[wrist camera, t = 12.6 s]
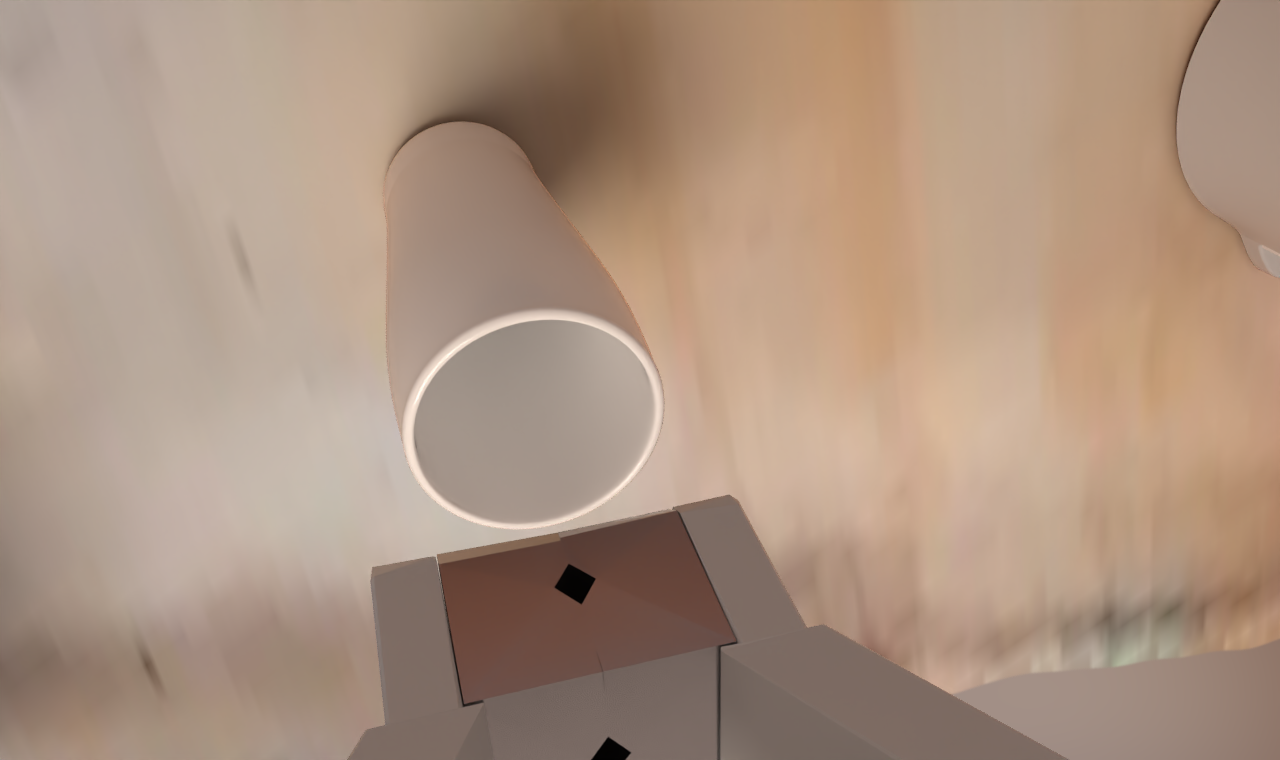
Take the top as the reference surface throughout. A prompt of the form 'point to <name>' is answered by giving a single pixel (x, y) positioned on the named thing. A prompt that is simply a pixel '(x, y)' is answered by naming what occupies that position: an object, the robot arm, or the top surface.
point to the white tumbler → (507, 339)
